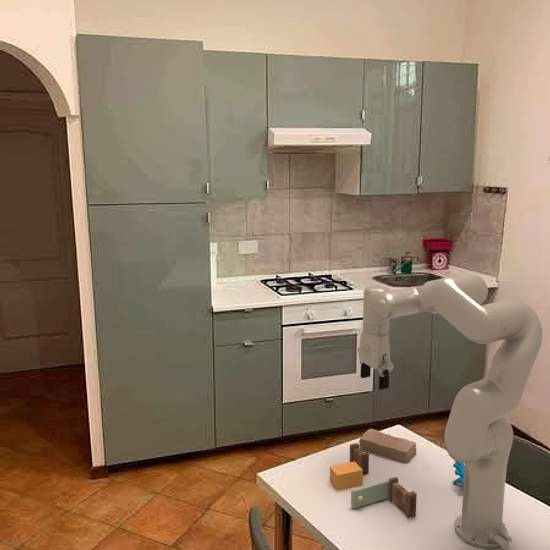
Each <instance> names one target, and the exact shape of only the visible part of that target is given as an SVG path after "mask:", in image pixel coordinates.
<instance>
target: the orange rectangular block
mask: <svg viewBox="0 0 550 550" xmlns="http://www.w3.org/2000/svg"><path fill="white" fill-rule="evenodd" d="M363 477H364V475H363V470H362V469H361V467H360V466H359V465H358V464H357V463H356V462H355V461H354V462H350V461H349V462H346V463H345V462H344V463H341V464H337V465H331V466H329V483H330V482H331V483H330V484H331V485H332V487H333V488H334V487H335V488H334V489H335V490H336V491H337V492H338V491H343V490H349V489H353V488H358V487H361V486H363V483H364V482H363V480H364V479H363ZM352 487H353V488H352Z"/></svg>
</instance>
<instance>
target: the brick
mask: <svg viewBox="0 0 550 550" xmlns="http://www.w3.org/2000/svg"><path fill="white" fill-rule="evenodd" d="M358 444H359V450H360V451H362V452H364V453H366V452H370V453H369V454H371V453H372V454H371V455H374V454H375V456H378V455H379V456H378V457H381V456H382V458H385V457H386V458H385V459H388V458H389V460H392V461H396V462H399V463H400V462H401V463H403V464H408V463H410V462H411V461H412V459H414V457H416V455H417V443H416V442H415V441H413V440H409V439H406V438H402V437H397V436H396V437H395V436H392V435H391V434H389V433H384V432H382V431H379V430H377V429H373V428H369V429H368V430H366V431H365V432H364V434H362V436H360V438H359V443H358Z"/></svg>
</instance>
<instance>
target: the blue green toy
mask: <svg viewBox="0 0 550 550" xmlns="http://www.w3.org/2000/svg"><path fill="white" fill-rule="evenodd" d="M452 466H453V468H455V470H454V474H455V475H456V476H459V477H457V478H456V479H454V480H453V481H452V483H453V485H457V484H458V483H460V484H462V483H464V472H465V464H464V463H459V462H457V461H455V460H454V463H453V464H452Z"/></svg>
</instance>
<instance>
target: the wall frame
mask: <svg viewBox="0 0 550 550" xmlns="http://www.w3.org/2000/svg"><path fill="white" fill-rule="evenodd" d="M354 461H355V462H356V463H357V464H358V465H359V466H360V467H361V469H362V470H363V476H366V475H369V474H370V473H369V471H370V470H369V469H370V468H369V467H370V453H368V452H364V451H362V450H360V445H359V443H358V442H355V443H354V442H353V443H351V444H349V462H354ZM388 479H389V498H388V501H389V502H390V503H392V504H394V506H396V507H397V508H398V509H399V510H400V511H401V512H402V513H403V514H404V516H405V517H406V518H407V519H411V518H415V517H416V516H417V496H418V494H417V493H416V492H415V491H413V490H412V491H408V490H407V489H406V488H405V487H404V486H403V485H401V484H400V483H399V477H397V476H393V477H391V478H388Z"/></svg>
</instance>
